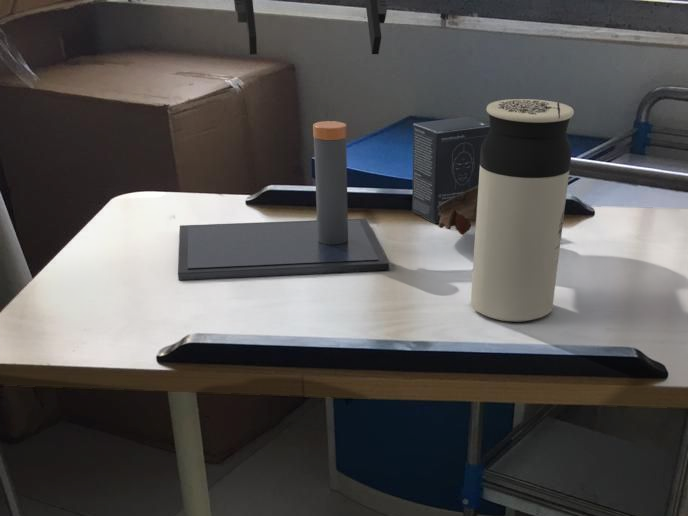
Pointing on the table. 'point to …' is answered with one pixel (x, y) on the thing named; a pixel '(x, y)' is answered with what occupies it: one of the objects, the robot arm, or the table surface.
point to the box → (445, 162)
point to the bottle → (331, 181)
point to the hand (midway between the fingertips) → (315, 46)
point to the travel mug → (520, 209)
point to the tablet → (274, 250)
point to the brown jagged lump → (459, 211)
